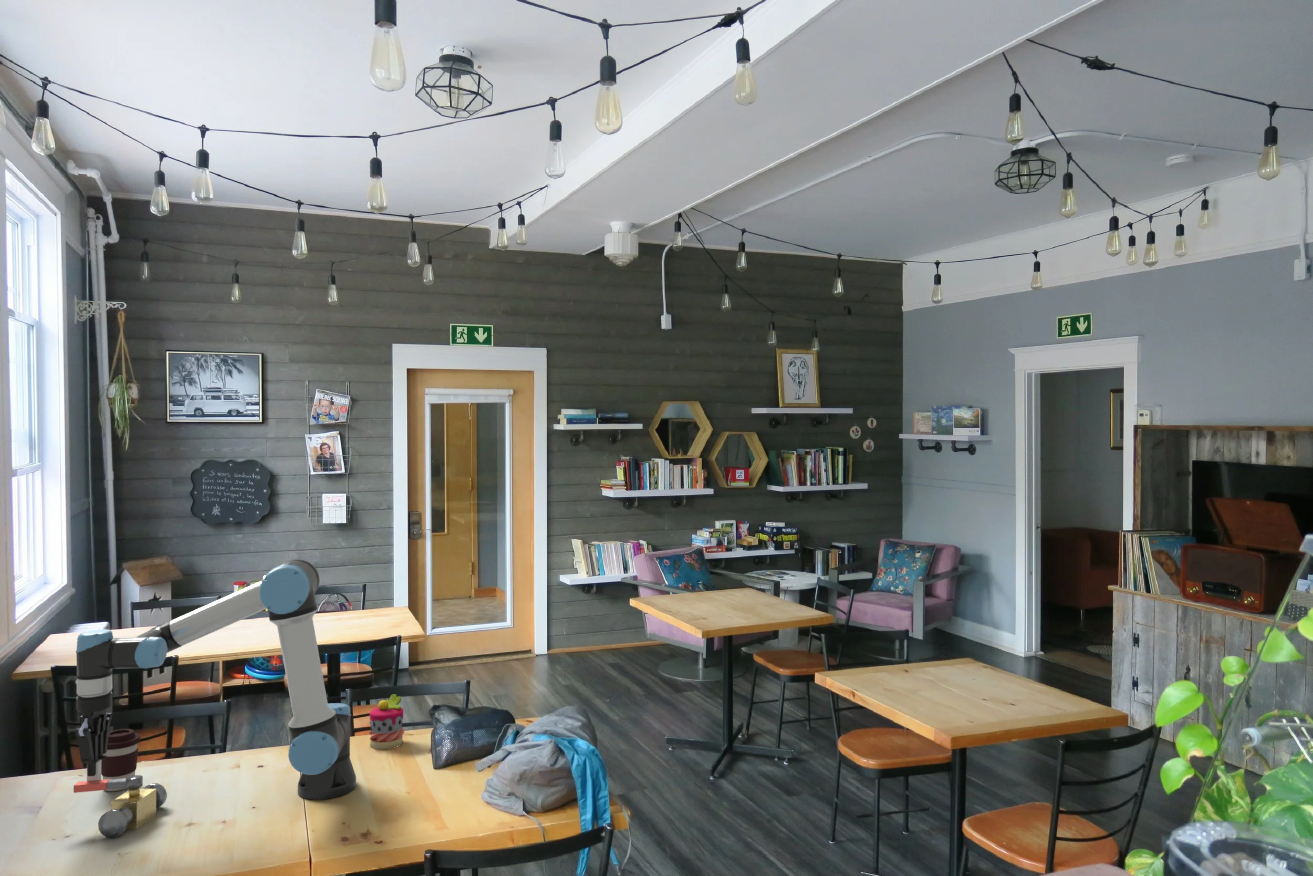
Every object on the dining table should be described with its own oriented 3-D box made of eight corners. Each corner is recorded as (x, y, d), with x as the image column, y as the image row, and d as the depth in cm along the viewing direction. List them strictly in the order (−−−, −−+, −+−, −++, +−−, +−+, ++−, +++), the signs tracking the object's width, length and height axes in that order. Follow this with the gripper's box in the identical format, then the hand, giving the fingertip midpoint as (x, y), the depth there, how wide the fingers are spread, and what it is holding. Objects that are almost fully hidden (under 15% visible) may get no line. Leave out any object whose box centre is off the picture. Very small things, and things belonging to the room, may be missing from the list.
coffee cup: (119, 795, 230) (120, 739, 231) (88, 792, 232) (89, 737, 233) (148, 781, 240) (148, 728, 240) (118, 778, 242) (118, 725, 242)
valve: (145, 805, 224) (145, 772, 224) (169, 805, 224) (170, 773, 224) (94, 840, 204) (94, 804, 204) (120, 840, 204) (121, 804, 204)
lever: (144, 783, 216) (144, 774, 216) (139, 788, 213) (140, 780, 213) (78, 789, 213) (78, 780, 213) (72, 794, 209) (72, 785, 209)
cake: (389, 752, 264) (389, 703, 265) (361, 747, 268) (362, 699, 268) (410, 741, 274) (410, 694, 274) (383, 737, 278) (383, 691, 278)
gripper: (92, 685, 220) (92, 777, 220) (63, 701, 207) (63, 798, 207) (123, 685, 220) (123, 776, 221) (96, 700, 208) (96, 797, 208)
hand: (94, 787), depth 214 cm, fingers closed
